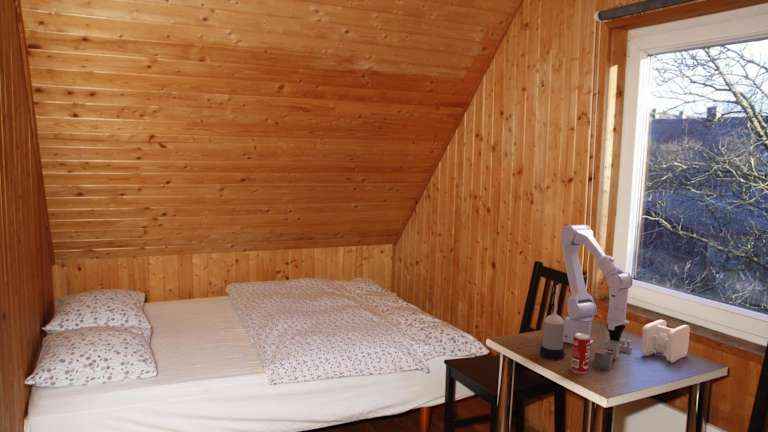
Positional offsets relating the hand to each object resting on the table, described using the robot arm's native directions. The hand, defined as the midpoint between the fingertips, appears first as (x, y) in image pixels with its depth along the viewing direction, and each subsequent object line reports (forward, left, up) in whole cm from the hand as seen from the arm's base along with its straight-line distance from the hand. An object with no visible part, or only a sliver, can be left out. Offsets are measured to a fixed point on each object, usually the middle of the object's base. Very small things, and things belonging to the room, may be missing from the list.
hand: (614, 345), depth 206 cm
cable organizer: (+14, +12, -4) cm, 19 cm away
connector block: (0, -13, -4) cm, 14 cm away
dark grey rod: (0, -3, -3) cm, 4 cm away
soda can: (-5, -22, -4) cm, 23 cm away
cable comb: (0, +8, -4) cm, 9 cm away
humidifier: (-17, -14, -4) cm, 23 cm away
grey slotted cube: (0, -3, -4) cm, 5 cm away
